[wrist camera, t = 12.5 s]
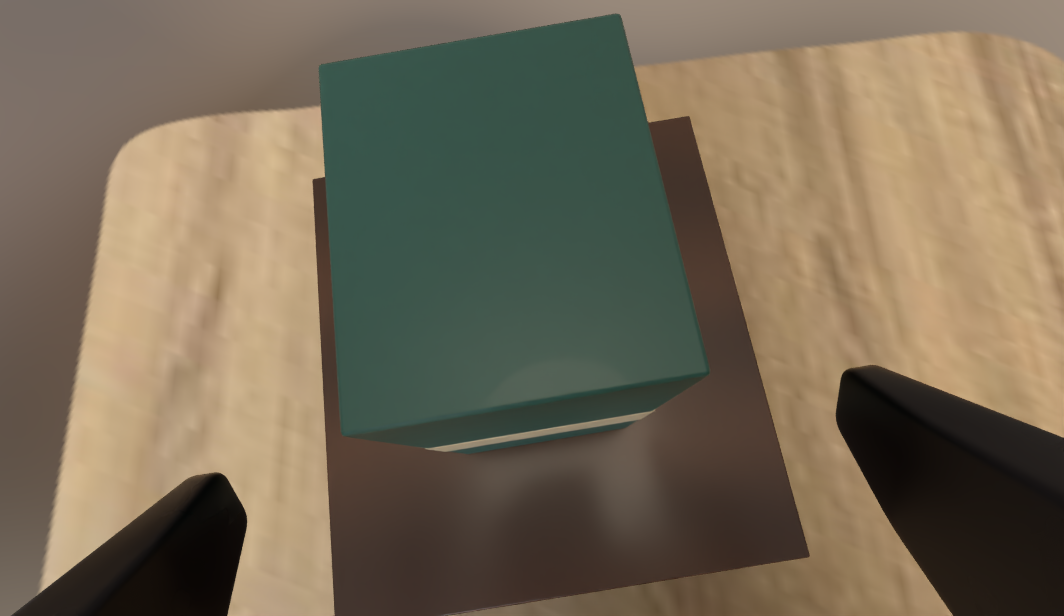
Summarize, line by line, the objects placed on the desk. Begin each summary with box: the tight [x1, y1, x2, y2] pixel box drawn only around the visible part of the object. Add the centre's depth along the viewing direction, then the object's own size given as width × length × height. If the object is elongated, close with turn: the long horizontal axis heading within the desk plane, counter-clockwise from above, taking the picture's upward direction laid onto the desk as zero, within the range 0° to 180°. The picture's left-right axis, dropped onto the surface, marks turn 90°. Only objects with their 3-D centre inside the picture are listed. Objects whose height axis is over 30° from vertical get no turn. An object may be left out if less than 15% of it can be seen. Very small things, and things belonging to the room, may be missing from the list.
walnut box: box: [313, 116, 810, 616], centre depth 20 cm, size 15×14×4 cm
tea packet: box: [319, 14, 710, 454], centre depth 13 cm, size 5×6×10 cm
